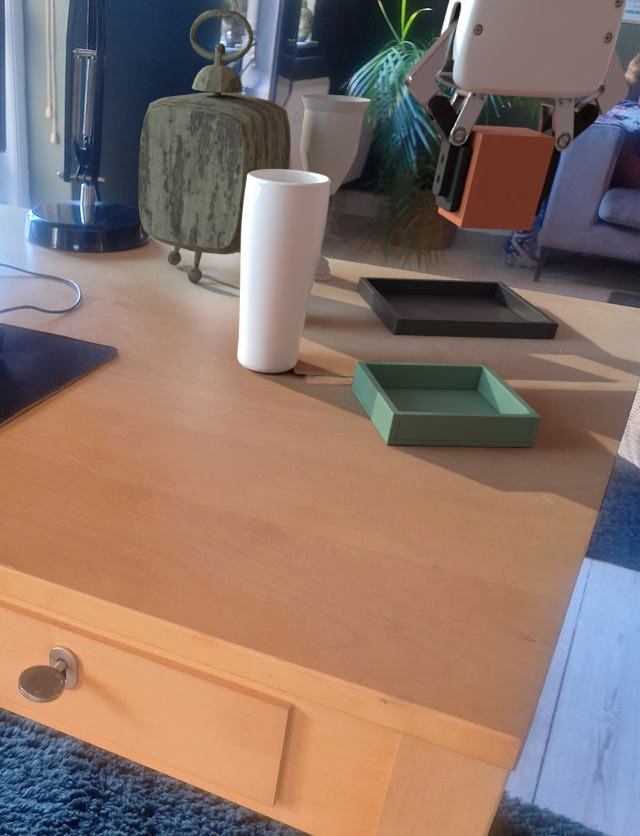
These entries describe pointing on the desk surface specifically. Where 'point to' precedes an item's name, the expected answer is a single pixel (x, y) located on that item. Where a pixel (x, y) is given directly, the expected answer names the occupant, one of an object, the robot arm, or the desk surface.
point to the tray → (443, 405)
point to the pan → (454, 309)
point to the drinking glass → (278, 263)
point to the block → (503, 178)
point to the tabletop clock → (207, 156)
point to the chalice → (330, 142)
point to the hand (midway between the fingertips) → (486, 207)
